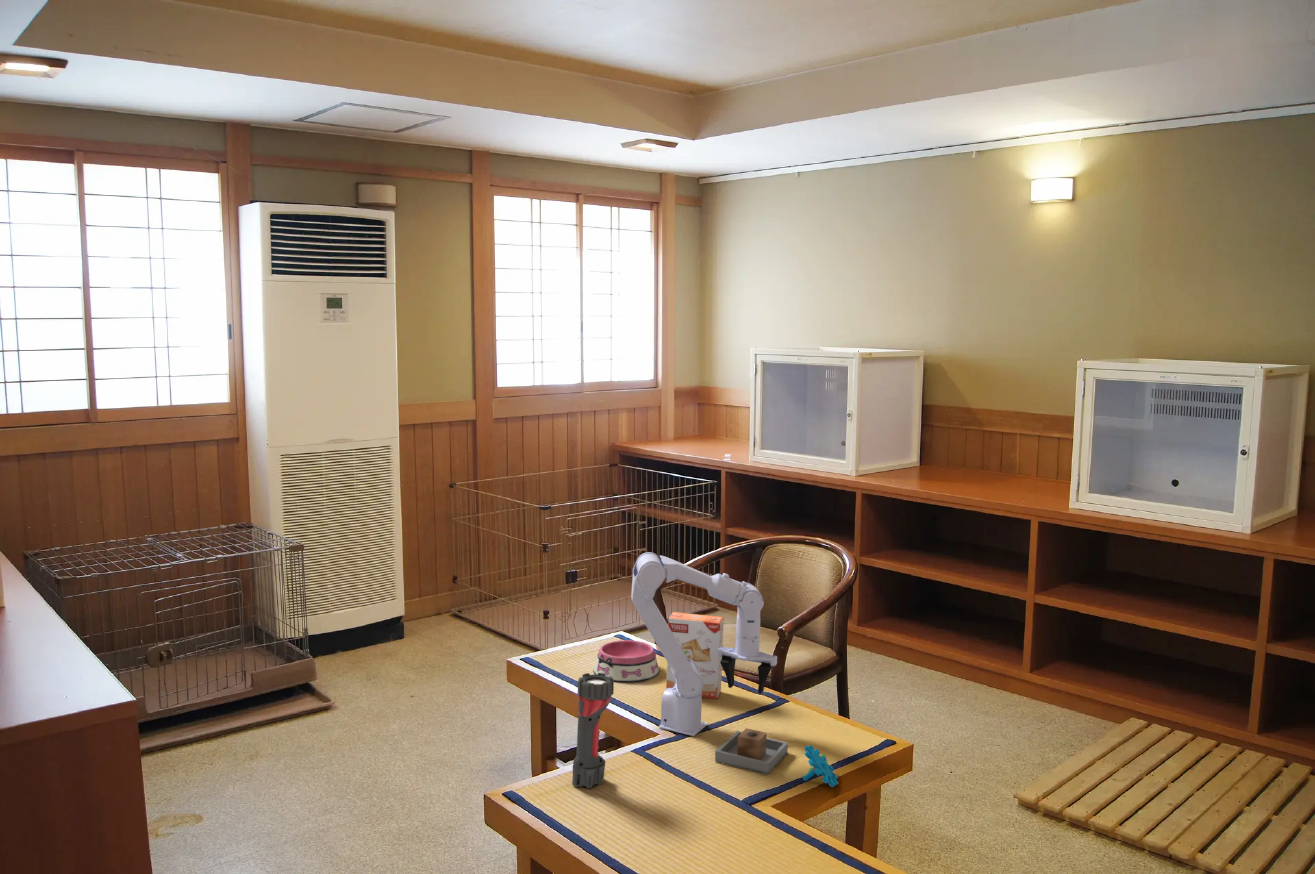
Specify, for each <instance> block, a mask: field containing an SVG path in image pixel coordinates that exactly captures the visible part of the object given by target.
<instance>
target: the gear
mask: <svg viewBox="0 0 1315 874" xmlns="http://www.w3.org/2000/svg"><path fill="white" fill-rule="evenodd" d="M803 749H804V751H805V752H804V756H805V757H806V758H807V759H809V760H807V761H808V764H809V765H810V766H811V767H810V768H809V769H808V772H807V774H805V775H804V776H802V779H803V781H805V782H807V781H808V780H809V779H810V778H812V777H813V776H815V774H816V776H822V778H821V780H822V781H823V782H824V783H825V784H828V785H829V786H830V787H831V788H834V787H835V786H837V785H838V784H839V782H838V781H837V779H838V775H837V774H836V773H834V770H835V769H834V767H833V766H832V765H830V764H829V762H828V759H827V756H826V754H825V753H822V754H821V752H820V750H819V749H818V748H814V746H813V745H812V744H809V745H806V746H805V747H804V748H803ZM820 754H821V755H820Z"/></svg>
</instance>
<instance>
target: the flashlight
mask: <svg viewBox="0 0 1315 874" xmlns="http://www.w3.org/2000/svg"><path fill="white" fill-rule="evenodd" d="M614 685H615V682H614V679H613V677H611V676H610V677H607V676H605V674H604V673H598V674H597V675H595V674H590V672H587V673H583V674H582V675H581V677H579V678H578V680H577V696H578V701H577V702H578V704H577V708H578V709H577V710H578V713H577V714H578V715H577V734H576V735H577V736H576V756H575V757H574V759H573V763H572V782H571V783H572V786H573V787H574V788H581V787H583V786H584V787H586V789H592V788H593V786H595V785H596V786H601V785H602V784H603V782H604V781H603V780H604V778H605V770H606V769H605V767H606V760H605V759H604V758H603V757H602V756H601V755H600V754H599V749H600V746H599V742H600V737H599V736H600V732H601V731H600V730H599V729H600V719H601V715H602V714H603V712H604V711H605V710H606V709H607V707H608V705H610V702H611V699H612V696H613V695H614V691H615V690H614V688H615V686H614Z"/></svg>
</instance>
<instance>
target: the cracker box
mask: <svg viewBox="0 0 1315 874" xmlns="http://www.w3.org/2000/svg"><path fill="white" fill-rule="evenodd" d="M724 624H725V623H724V617H723V616H717V615H716V616H715V615H706V614H705V615H704V614H696V613H686V612H675V611H673V612H672V613H671V615H670V616H669V617H668V623H667V625H668V626H669V628H670V630H671V631H672V633H673V635H674V637H675V638H676V640H677V642H678V643H679V645H680V647H681V649H682V650H683V651H684V653H685V654H686V656H687V657H688V658H689V659H690V660H691V661H693V662H694V663H695V664H696V665H697V668H698V672H699V674H700V676H701V678H702V680H703V688H702V698H705V699H716V700H717V699H718V698H719V695H720V694H721V691H722V674H723V672H722V671H723V667H722V665H721V663H720V660H722V657H718V649H719V648H720V647H724V645H723V644H724ZM675 683H676V681H675V679H674V677H673V672H672V670H671V668H670V666H669V664H668V662H667V661H666V685H665V686H666V687H665V690H666V689H667V688H673V687H674V685H675Z"/></svg>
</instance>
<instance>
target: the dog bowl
mask: <svg viewBox="0 0 1315 874" xmlns="http://www.w3.org/2000/svg"><path fill="white" fill-rule="evenodd" d="M592 672H593V675H597V674H598V673H604V674H605V676H607V677H610V676H611V677H613V679H614V683H619V684H634V683H635V684H636V683H644V682H647V681H650V680H653V679H654V678H656V677H657V676H659V673H660V668H659V665H658V659H657V655H656V652H655V649H654V647H653V646H652V645H650V644H649V643H647V642H643V641H640V640H630V639H629V640H628V639H625V640H623V639H621V640H615V641H610V642H606V643H604V644H603V645H600V648H599V650H598V653H597V656H596V662H595V665H594V666H593V671H592Z"/></svg>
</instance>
